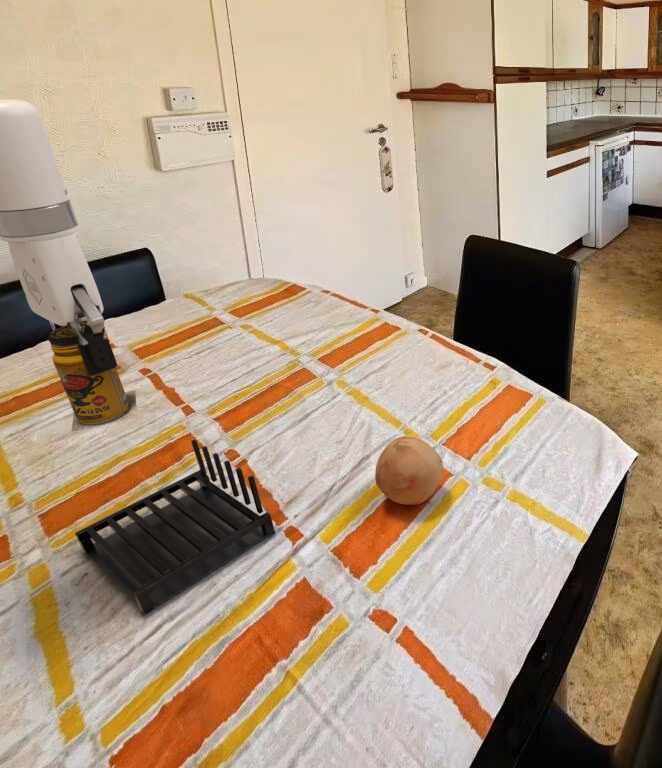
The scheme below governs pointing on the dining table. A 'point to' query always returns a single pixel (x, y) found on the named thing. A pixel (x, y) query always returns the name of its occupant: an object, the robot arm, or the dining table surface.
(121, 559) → the dish rack
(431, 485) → the onion
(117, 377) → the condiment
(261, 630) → the dining table surface
